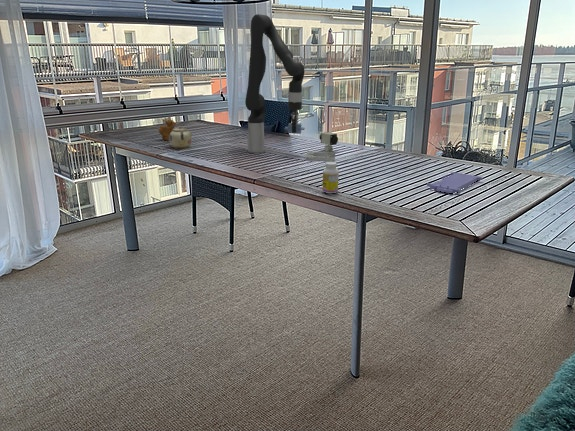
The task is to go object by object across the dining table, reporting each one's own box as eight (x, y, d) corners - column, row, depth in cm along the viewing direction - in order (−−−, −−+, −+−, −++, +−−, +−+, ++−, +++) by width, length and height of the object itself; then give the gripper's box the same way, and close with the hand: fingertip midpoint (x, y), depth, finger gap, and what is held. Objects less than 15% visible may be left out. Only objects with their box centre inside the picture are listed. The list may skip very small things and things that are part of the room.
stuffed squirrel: (183, 139, 315) (181, 119, 311) (167, 142, 304) (166, 122, 299) (172, 137, 320) (170, 118, 316) (156, 141, 309) (155, 121, 304)
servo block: (284, 133, 260) (284, 124, 258) (285, 131, 264) (285, 122, 263) (304, 133, 259) (304, 124, 257) (304, 132, 263) (305, 123, 261)
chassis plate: (305, 160, 256) (305, 156, 255) (307, 154, 270) (307, 151, 269) (334, 161, 254) (334, 157, 253) (335, 155, 268) (335, 152, 267)
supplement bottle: (321, 190, 202) (322, 161, 197) (336, 190, 202) (337, 161, 198) (323, 194, 195) (324, 165, 191) (339, 194, 196) (340, 164, 192)
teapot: (164, 147, 291) (161, 125, 286) (182, 143, 300) (180, 123, 295) (181, 151, 277) (179, 129, 273) (200, 148, 286) (198, 126, 281)
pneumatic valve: (332, 153, 273) (332, 133, 269) (319, 150, 282) (319, 130, 278) (339, 152, 276) (339, 132, 272) (326, 149, 285) (326, 129, 281)
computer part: (423, 190, 203) (456, 197, 194) (424, 181, 202) (458, 187, 193) (451, 177, 225) (482, 182, 215) (452, 168, 223) (483, 173, 214)
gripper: (289, 99, 263) (289, 129, 268) (286, 101, 249) (286, 133, 255) (303, 99, 262) (302, 130, 268) (300, 102, 248) (299, 134, 254)
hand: (294, 131), depth 261 cm, fingers closed on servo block, 4 cm apart
